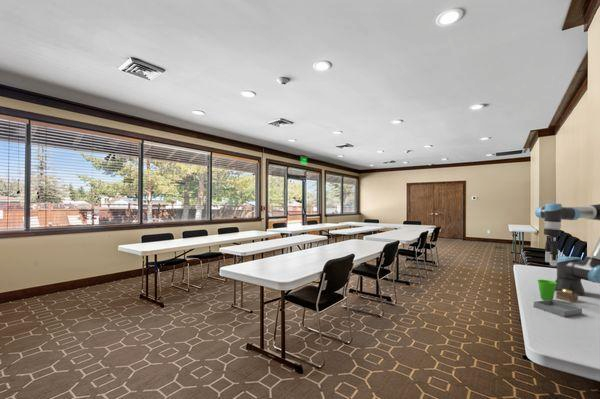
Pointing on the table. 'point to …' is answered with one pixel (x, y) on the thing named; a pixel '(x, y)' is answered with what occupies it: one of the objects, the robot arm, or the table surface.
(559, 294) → the block
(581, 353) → the table surface
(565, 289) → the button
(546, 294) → the cup
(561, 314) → the tray
